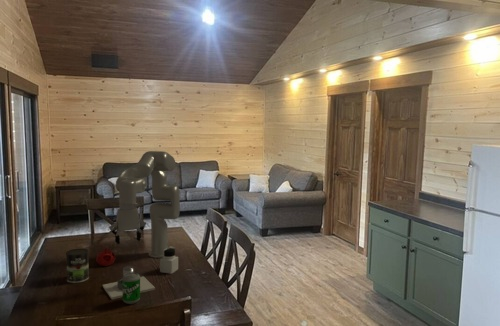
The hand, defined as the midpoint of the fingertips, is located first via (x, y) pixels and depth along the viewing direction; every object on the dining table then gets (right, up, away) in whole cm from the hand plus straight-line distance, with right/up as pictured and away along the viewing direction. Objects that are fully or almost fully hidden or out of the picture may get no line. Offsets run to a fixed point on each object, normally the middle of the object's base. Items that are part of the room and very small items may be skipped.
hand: (128, 241), depth 185 cm
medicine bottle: (+14, -21, +24) cm, 35 cm away
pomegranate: (-22, -19, +31) cm, 43 cm away
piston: (0, -21, +1) cm, 21 cm away
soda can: (+5, -24, -12) cm, 27 cm away
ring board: (0, -22, +1) cm, 22 cm away
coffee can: (-28, -21, +10) cm, 37 cm away
